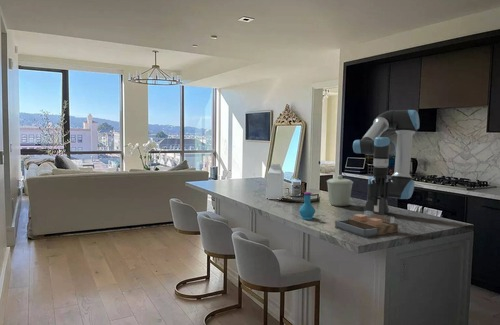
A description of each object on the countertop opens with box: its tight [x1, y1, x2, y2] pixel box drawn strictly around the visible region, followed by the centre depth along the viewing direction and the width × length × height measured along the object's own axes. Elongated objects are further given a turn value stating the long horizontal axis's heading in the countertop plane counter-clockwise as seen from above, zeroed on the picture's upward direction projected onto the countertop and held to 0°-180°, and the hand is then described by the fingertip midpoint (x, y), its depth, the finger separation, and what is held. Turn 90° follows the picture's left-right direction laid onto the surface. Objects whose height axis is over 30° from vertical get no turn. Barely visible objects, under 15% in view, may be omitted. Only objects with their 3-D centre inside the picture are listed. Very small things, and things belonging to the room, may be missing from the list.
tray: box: [334, 219, 378, 238], centre depth 192 cm, size 8×21×4 cm, turn 29°
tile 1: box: [352, 213, 367, 221], centre depth 200 cm, size 5×5×2 cm
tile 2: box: [368, 218, 382, 226], centre depth 191 cm, size 5×5×2 cm
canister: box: [326, 174, 354, 207], centre depth 262 cm, size 18×18×21 cm
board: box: [347, 217, 399, 236], centre depth 198 cm, size 15×20×4 cm
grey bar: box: [363, 197, 396, 224], centre depth 199 cm, size 3×18×12 cm, turn 29°
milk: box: [264, 163, 285, 200], centre depth 284 cm, size 12×12×26 cm
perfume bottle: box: [298, 191, 316, 220], centre depth 220 cm, size 9×9×15 cm
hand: (378, 211), depth 199 cm, fingers closed on grey bar, 3 cm apart
